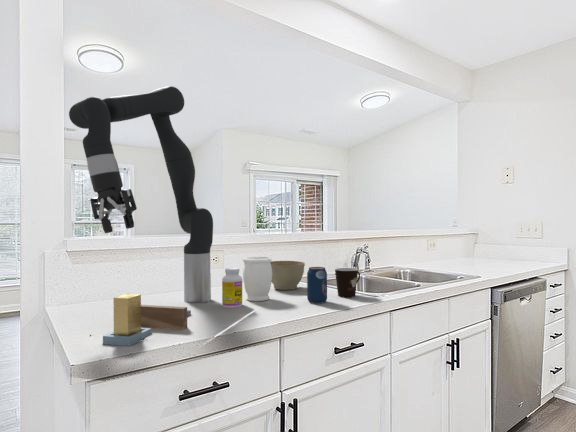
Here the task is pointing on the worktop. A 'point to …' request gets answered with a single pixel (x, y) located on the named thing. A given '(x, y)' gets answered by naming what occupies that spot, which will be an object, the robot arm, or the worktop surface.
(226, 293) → the supplement bottle
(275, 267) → the planter bowl
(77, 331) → the worktop surface
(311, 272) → the soda can
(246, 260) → the jar
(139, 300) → the block
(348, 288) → the coffee mug
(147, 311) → the board
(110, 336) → the socket
